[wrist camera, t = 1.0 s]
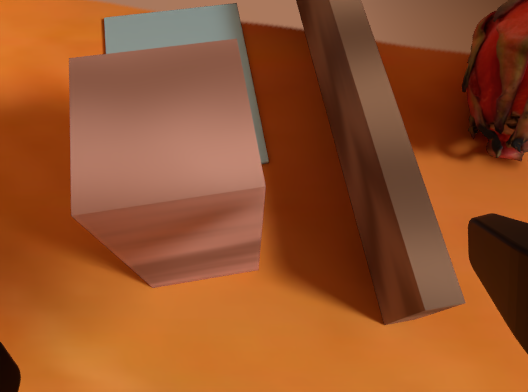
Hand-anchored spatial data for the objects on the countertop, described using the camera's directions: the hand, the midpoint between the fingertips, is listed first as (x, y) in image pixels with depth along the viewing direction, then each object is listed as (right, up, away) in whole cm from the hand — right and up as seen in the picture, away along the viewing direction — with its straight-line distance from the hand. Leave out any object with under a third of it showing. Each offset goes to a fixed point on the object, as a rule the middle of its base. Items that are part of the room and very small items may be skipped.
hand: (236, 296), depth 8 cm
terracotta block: (-3, 0, +13) cm, 14 cm away
